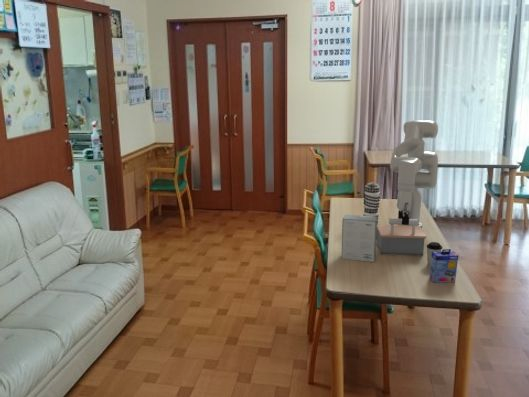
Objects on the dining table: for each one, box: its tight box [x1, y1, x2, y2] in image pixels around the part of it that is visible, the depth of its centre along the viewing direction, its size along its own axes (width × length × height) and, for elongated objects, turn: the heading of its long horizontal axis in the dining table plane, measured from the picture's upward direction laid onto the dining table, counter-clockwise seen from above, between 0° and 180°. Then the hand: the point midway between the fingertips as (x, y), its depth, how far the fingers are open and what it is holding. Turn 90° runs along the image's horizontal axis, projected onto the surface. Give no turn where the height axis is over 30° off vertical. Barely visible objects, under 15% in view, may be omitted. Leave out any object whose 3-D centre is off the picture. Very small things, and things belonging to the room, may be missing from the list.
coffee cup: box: [426, 241, 443, 267], centre depth 231 cm, size 7×7×10 cm
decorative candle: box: [362, 182, 381, 225], centre depth 283 cm, size 9×9×25 cm
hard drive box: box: [341, 214, 377, 263], centre depth 238 cm, size 16×8×20 cm, turn 71°
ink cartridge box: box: [429, 248, 459, 283], centre depth 214 cm, size 10×6×14 cm, turn 95°
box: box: [376, 229, 426, 257], centre depth 250 cm, size 15×20×9 cm
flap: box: [377, 218, 427, 239], centre depth 247 cm, size 16×21×8 cm
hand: (403, 221), depth 241 cm, fingers open, 9 cm apart
